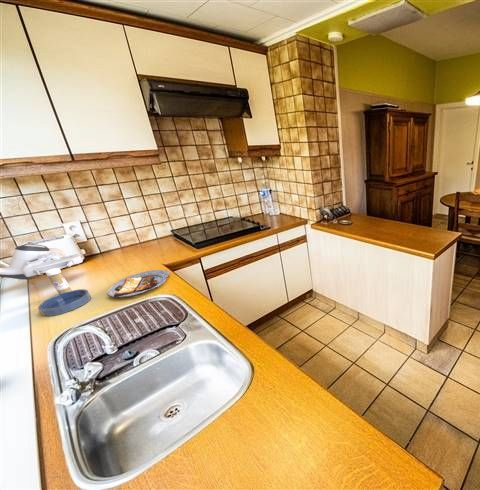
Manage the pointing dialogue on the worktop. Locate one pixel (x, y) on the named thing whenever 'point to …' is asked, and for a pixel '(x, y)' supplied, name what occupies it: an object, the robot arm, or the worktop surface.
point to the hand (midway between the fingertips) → (54, 269)
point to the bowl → (64, 302)
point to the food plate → (138, 283)
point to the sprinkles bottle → (58, 280)
